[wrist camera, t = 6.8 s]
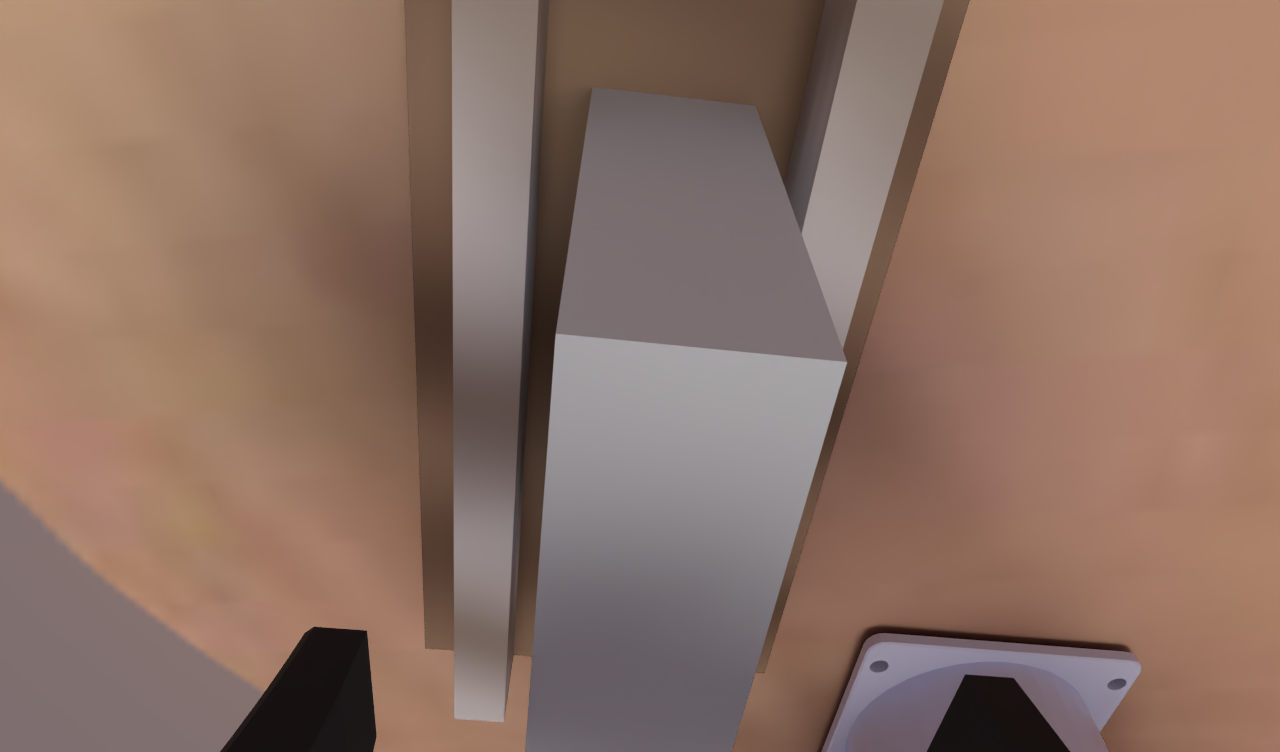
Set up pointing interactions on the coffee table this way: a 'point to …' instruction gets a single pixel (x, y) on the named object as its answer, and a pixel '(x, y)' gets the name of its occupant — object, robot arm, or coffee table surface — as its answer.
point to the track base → (541, 226)
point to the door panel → (674, 429)
